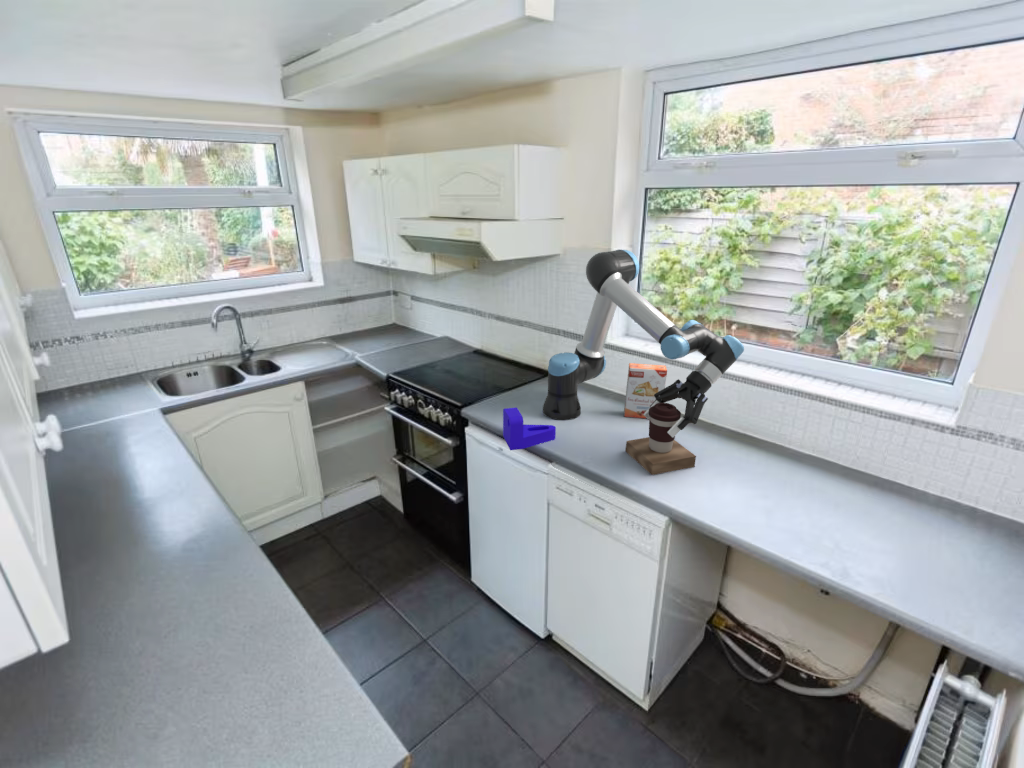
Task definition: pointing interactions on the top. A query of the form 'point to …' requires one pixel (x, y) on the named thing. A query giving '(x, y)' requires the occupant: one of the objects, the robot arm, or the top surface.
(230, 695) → the top surface
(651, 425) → the coffee cup
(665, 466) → the cup stand
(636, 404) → the cracker box
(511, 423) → the bracket
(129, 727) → the top surface
